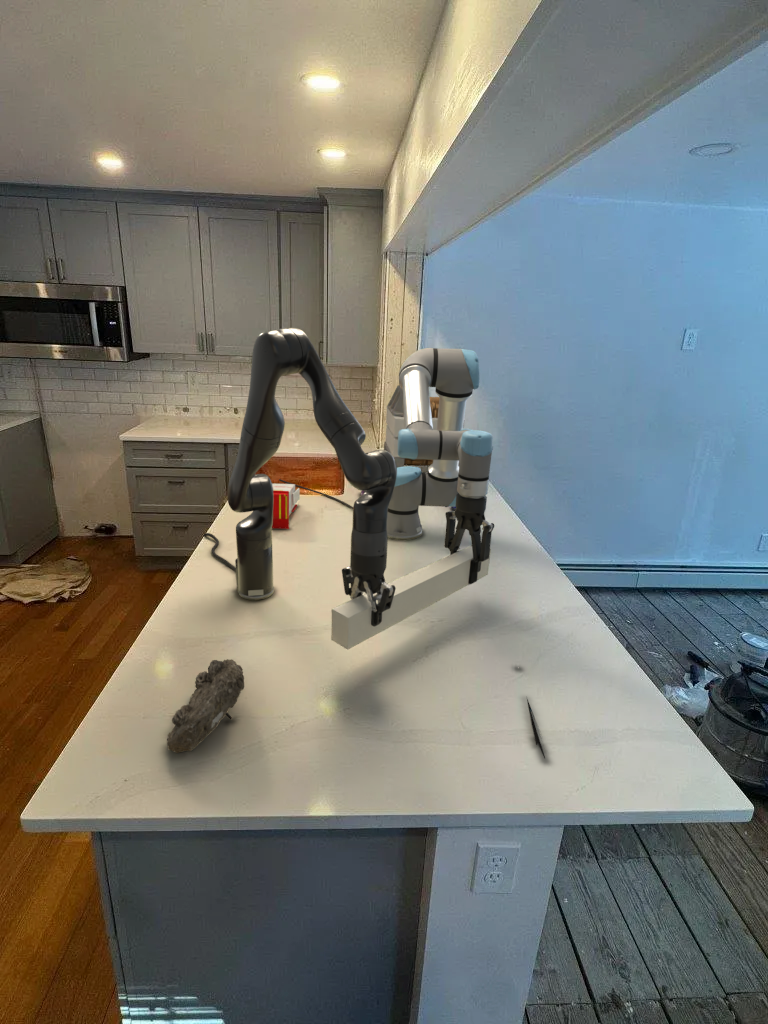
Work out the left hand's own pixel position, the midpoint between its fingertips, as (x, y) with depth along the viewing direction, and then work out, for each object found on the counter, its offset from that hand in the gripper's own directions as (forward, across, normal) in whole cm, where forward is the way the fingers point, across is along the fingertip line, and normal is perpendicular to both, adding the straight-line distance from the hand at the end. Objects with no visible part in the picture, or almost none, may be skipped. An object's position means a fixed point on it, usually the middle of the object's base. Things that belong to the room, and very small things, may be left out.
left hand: (366, 619), depth 122 cm
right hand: (+2, 0, +36) cm, 36 cm away
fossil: (+12, -8, -33) cm, 36 cm away
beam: (+3, 0, +18) cm, 18 cm away
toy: (+11, -88, +44) cm, 99 cm away
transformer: (+11, -92, +130) cm, 160 cm away
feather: (+12, +34, +13) cm, 38 cm away
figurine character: (+11, -51, +103) cm, 116 cm away
